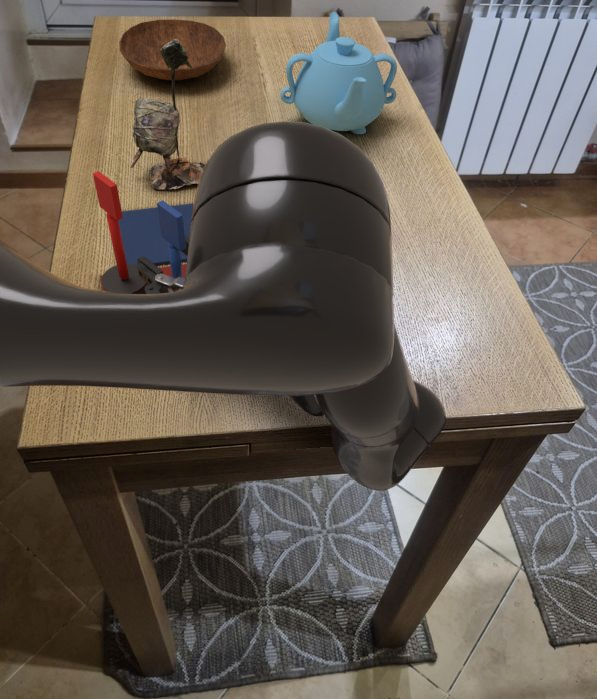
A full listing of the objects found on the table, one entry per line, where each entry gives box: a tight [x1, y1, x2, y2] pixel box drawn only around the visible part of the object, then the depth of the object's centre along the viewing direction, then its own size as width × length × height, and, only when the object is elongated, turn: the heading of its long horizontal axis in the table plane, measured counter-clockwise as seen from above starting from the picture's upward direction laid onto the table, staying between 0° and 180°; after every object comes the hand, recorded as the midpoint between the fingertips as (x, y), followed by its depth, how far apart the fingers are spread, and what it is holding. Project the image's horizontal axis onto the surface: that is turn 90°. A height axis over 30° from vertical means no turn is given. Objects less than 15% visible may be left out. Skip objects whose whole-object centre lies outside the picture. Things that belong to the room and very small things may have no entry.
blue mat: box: [118, 202, 194, 267], centre depth 86 cm, size 12×12×1 cm
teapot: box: [279, 11, 398, 135], centre depth 104 cm, size 16×20×14 cm
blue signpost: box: [156, 199, 186, 279], centre depth 69 cm, size 6×6×16 cm
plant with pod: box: [129, 39, 206, 191], centre depth 88 cm, size 8×11×20 cm
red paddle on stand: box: [92, 170, 149, 294], centre depth 72 cm, size 6×6×16 cm
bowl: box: [118, 19, 227, 81], centre depth 117 cm, size 20×22×5 cm
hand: (161, 252), depth 70 cm, fingers open, 5 cm apart
